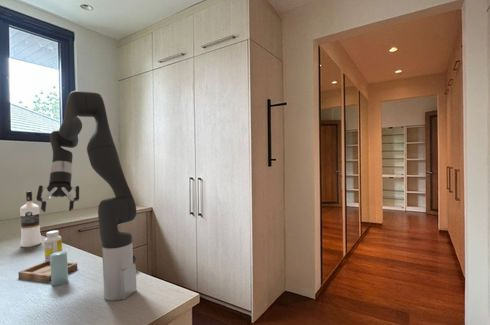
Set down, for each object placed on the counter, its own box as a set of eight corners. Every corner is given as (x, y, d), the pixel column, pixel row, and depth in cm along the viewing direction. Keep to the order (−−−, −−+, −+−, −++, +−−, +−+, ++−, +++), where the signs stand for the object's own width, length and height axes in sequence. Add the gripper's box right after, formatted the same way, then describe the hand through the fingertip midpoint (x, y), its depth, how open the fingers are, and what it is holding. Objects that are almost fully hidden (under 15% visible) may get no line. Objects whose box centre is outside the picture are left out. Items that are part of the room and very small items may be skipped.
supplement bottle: (61, 254, 126) (60, 228, 126) (63, 258, 122) (62, 231, 121) (44, 258, 122) (42, 232, 122) (46, 262, 117) (44, 234, 117)
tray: (77, 268, 109) (77, 263, 109) (49, 282, 98) (49, 275, 98) (48, 265, 113) (48, 260, 113) (18, 278, 102) (18, 272, 102)
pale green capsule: (71, 279, 99) (70, 251, 99) (58, 286, 94) (57, 256, 94) (61, 278, 101) (59, 250, 101) (47, 284, 96) (46, 255, 96)
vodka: (44, 241, 149) (42, 189, 148) (38, 246, 141) (36, 191, 140) (24, 243, 145) (21, 191, 145) (17, 248, 137) (14, 193, 136)
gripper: (39, 169, 103) (34, 209, 97) (81, 171, 111) (78, 208, 105) (40, 175, 109) (36, 213, 103) (80, 176, 116) (78, 212, 111)
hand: (57, 211), depth 104 cm, fingers open, 8 cm apart
